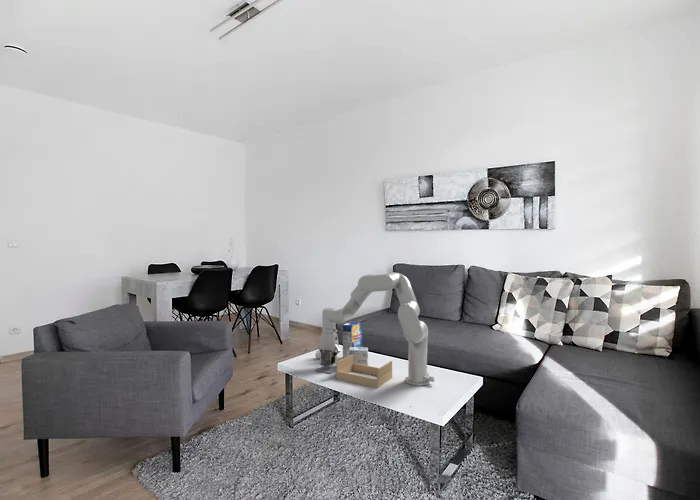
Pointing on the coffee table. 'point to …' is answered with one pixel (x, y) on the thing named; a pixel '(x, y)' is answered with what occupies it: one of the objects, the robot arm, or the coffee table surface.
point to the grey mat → (327, 369)
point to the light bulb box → (359, 355)
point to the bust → (318, 354)
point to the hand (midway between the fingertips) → (328, 362)
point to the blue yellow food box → (351, 336)
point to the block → (327, 358)
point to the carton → (347, 366)
